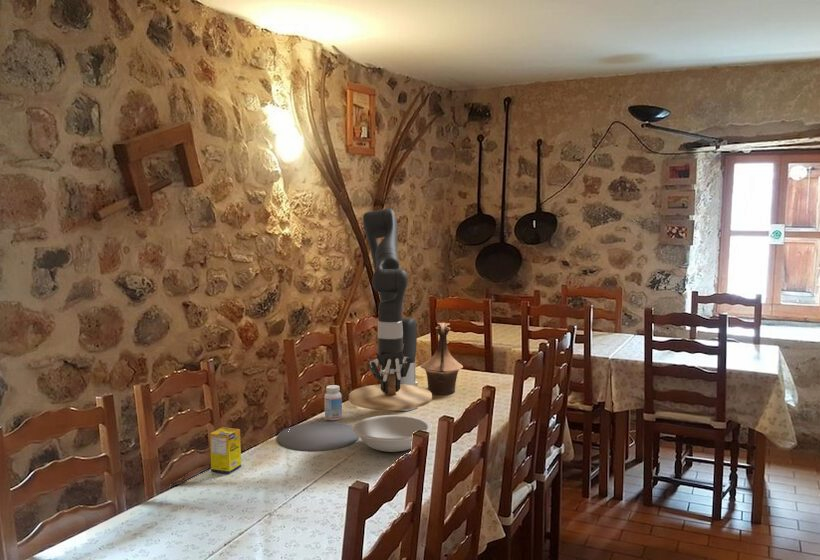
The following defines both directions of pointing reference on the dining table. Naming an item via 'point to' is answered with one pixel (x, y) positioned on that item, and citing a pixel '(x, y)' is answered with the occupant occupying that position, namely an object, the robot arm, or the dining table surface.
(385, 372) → the robot arm
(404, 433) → the soup bowl
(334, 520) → the dining table surface
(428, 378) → the pot with conical top
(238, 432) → the supplement box
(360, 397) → the lid
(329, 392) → the pill bottle
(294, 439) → the disc
